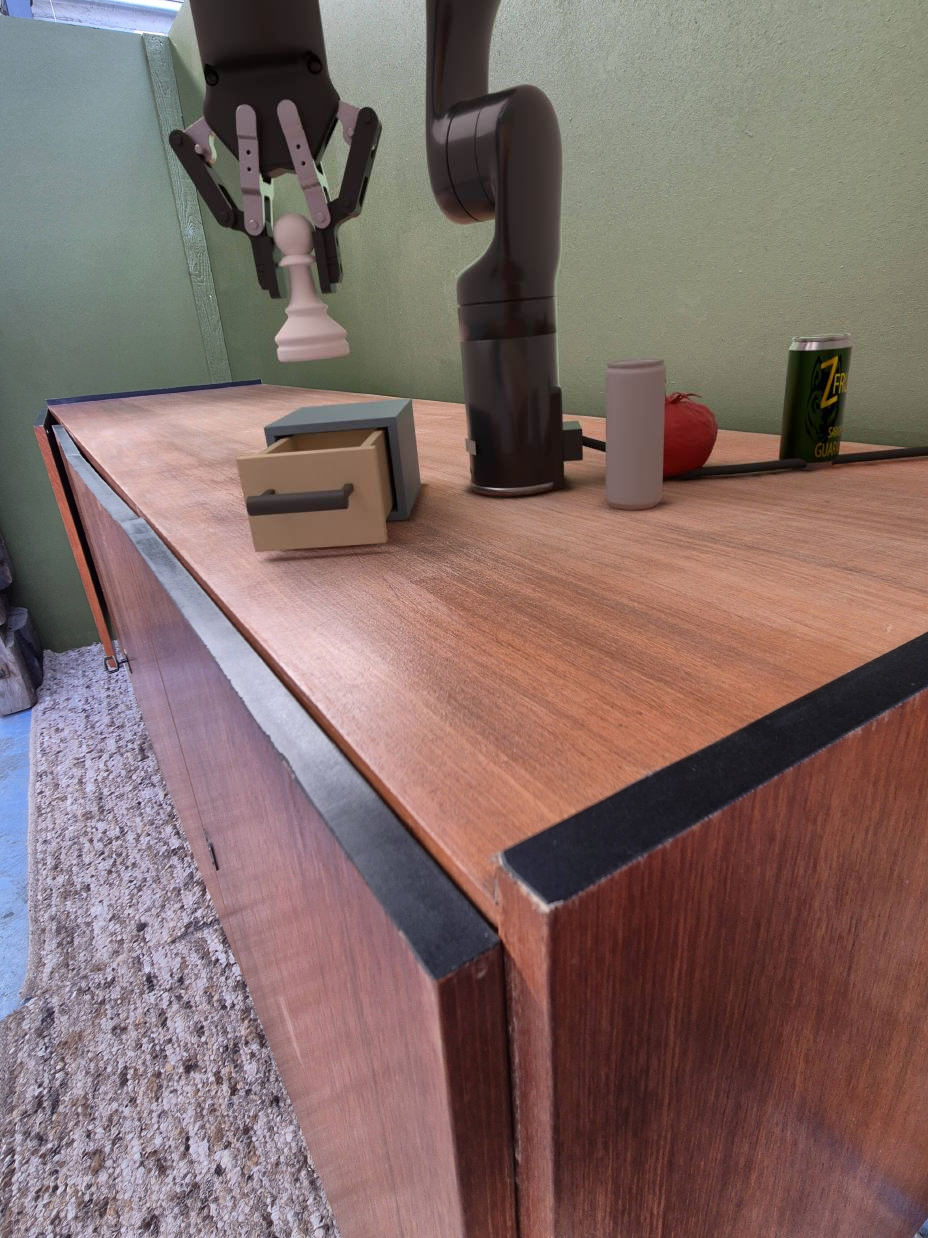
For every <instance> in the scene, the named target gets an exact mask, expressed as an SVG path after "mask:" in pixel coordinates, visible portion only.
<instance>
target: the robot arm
mask: <svg viewBox="0 0 928 1238" xmlns="http://www.w3.org/2000/svg"><path fill="white" fill-rule="evenodd" d="M188 1H189V2H188V3H189V6H190V12H191V17H192V22H193V27H194V33H195V38H196V42H197V47H198V53H199V58H200V64H201V68H202V73H203V78H204V82H205V95H204V100H203V104H202V114H203V116H201V117H200V118H199V119H197V120H196V121H194V123H193V124H191V125H190V126H188V127H187V128H185V129H184V130H182V129H178V128H174V129H173V130H171V131H170V132H169V135H168V144H169V146H170V148H171V149H172V152H173V153H174V155H175V156H176V158H177V159H178V160H179V162H180V165H181V166H182V167H183V169H184V170H185V172H186V174H187V175H188V177H189V178H190V180H191V181H192V183H193V185H194V187H195V188H196V190H197V192H198V193H199V195H200V196H201V198H202V200H203V201H204V203H205V205H206V206H207V208H208V209H209V211H210V212H211V214H212V216H213V218H214V219H215V220H216V222H217V224H218V225H219V226H220V227H222V228H226V229H230V230H232V231H236V232H241V233H243V234H245V235H246V236H247V237H248V239H249V241H250V245H251V250H252V255H253V261H254V265H255V266H254V267H255V271H256V272H255V273H256V276H257V282H258V284H259V286H260V288H261V289H262V291H268V294H269V297H270V299H271V300H284V299H287V298H288V288H287V282H286V276H285V271H284V268H280V267H278V263H279V261H280V260H281V259H282V254H281V253H280V252H279V250H278V249H277V248H276V246H275V243H274V240H273V227H274V218H273V217H274V216H273V214H274V213H273V200H274V196H275V188H274V187H275V186H274V182H275V181H274V179H277V178H279V177H281V176H283V175H285V174H292V175H295V176H297V177H296V178H297V180H298V183H299V186H300V189H301V190H302V192H303V195H304V198H305V201H306V204H307V209H308V211H309V214H310V217H311V221H312V224H313V227H314V229H315V231H311V232H312V238H313V245H314V249H313V251H314V256H315V257H316V264H317V265H316V271H317V275H318V282H319V288H320V293H321V294H322V295H331V294H332V295H333V294H337V291H338V290H337V284H342V283H343V280H344V268H343V267H344V266H343V261H342V253H341V247H340V246H341V245H340V240H339V230H340V228H341V226H343V224H344V223H347V222H348V221H350V220H352V219H355V218H358V217H359V216H360V215H361V213H362V211H363V208H364V204H365V199H366V195H367V192H368V188H369V183H370V179H371V177H372V176H371V175H372V171H373V169H374V168H373V167H374V163H375V160H376V155H377V151H378V147H379V144H380V139H381V135H382V132H383V124H382V122H381V120H380V118H379V116H378V114H377V113H376V110H374V108H373V107H370V106H363V107H362V108H359V107H357V106H354V105H352V104H350V103H347V102H345V101H343V100H341V96H340V95H339V92H338V91H337V89H336V88H335V86H334V85H333V83H332V79H331V75H330V70H329V66H328V64H329V63H328V58H327V51H326V43H325V36H324V35H325V34H324V29H323V28H324V27H323V21H322V20H323V19H322V13H321V5H320V0H188ZM501 2H502V0H424V16H425V17H424V18H425V19H424V20H425V77H424V78H425V79H424V81H425V85H424V87H425V88H424V144H425V145H424V148H425V161H426V162H425V163H426V169H427V177H428V181H429V185H430V189H431V192H432V196H433V198H434V201H435V202H436V205H437V207H438V209H439V211H440V212H441V213H442V214H443V215H444V217H445V218H446V219H448V220H449V221H450V222H451V223H453V224H455V225H458V226H471V225H478V224H484V223H485V224H486V223H489V222H494V224H493V235H492V238H491V239H490V242H489V244H488V245H487V246H486V248H485V249H484V251H483V252H482V253H481V255H479V257H477V258H476V259H475V260H474V261H473V262H471V263H470V264H468V265H466V267H464V268H463V269H461V270H460V271H459V273H458V274H457V277H456V280H455V292H456V293H455V294H456V304H457V317H458V318H457V319H458V331H459V341H460V356H461V368H462V381H463V394H464V395H463V396H464V408H465V420H466V433H467V437H465V438H464V440H465V441H464V442H465V451H466V452H467V453H468V458H469V474H470V481H469V483H470V489H471V491H473V492H474V493H477V494H480V495H485V496H494V497H514V496H515V497H516V496H525V495H526V496H527V495H533V494H540V493H545V492H549V491H551V490H560V489H565V487H566V486H565V462H580V461H583V460H584V447H585V448H588V449H592V450H596V451H600V452H602V453H605V454H606V441H603V440H600V439H596V438H592V437H589V436H586V435H583V427H582V425H581V424H580V421H579V420H566V421H565V420H564V415H563V389H562V386H561V385H560V364H559V363H560V362H559V359H560V358H559V333H558V332H559V327H558V326H559V325H558V324H559V323H558V298H557V296H558V289H557V287H558V285H557V284H558V275H559V272H560V267H561V262H562V253H563V203H564V202H563V200H564V150H563V149H564V148H563V147H564V146H563V139H562V131H561V127H560V123H559V122H560V121H559V119H558V115H557V112H556V109H555V107H554V105H553V103H552V101H551V99H550V97H549V96H548V95H547V94H546V93H545V91H544V90H542V89H541V88H540V87H538V86H536V85H533V84H528V83H523V84H517V85H513V86H508V87H506V88H502V89H500V90H496V91H493V92H490V60H491V59H490V58H491V47H492V40H493V33H494V28H495V24H496V21H497V20H496V19H497V16H498V12H499V10H500V6H501ZM339 122H340V123H341V125H342V138H343V140H344V142H345V143H346V144H347V145H348V147H349V151H348V154H347V159H346V163H345V166H344V167H345V168H344V171H343V176H342V180H341V184H340V188H339V192H338V197H336V198H335V199H332V198H331V194H330V189H329V183H328V180H327V177H326V173H325V170H324V166H323V162H322V159H323V157H324V155H325V153H326V150H327V147H328V146H329V144H330V141H331V139H332V136H333V134H334V131H335V130H336V127H337V126H338V125H337V124H338V123H339ZM216 137H217V138H218V139H219V140H220V142H221V143H222V144H223V146H225V148H226V149H227V150H228V151H229V152H230V153H231V155H232V156H233V157H234V158H235V159H236V160H237V162H238V163H239V185H240V190H241V193H242V200H243V210H241V208H240V207H239V206H238V204H237V202H236V200H235V199H234V198H233V196H232V194H231V192H230V190H229V189H228V187H227V185H226V184H225V182H224V180H223V179H222V177H221V176H220V174H219V172H218V170H217V169H216V167H215V166H214V164H215V162H216V161H217V157H218V154H217V151H216V147H215V144H214V143H215V142H214V141H215V138H216ZM921 457H922V458H923V457H928V445H925V446H914V447H913V446H912V447H902V448H894V449H882V450H873V451H872V450H871V451H862V452H849V453H839V455H837V456H836V458H835V460H834V461H833V462H832V465H834V466H836V465H847V464H858V463H866V462H867V463H869V462H877V461H879V462H880V461H888V460H899V459H910V458H911V459H912V458H921ZM806 466H807V463H806V462H805V461H804V460H802V459H799V458H796V459H786V460H779V459H778V460H777V459H776V460H769V461H759V462H748V463H736V464H724V465H723V464H720V465H719V464H718V465H708V466H703V467H699V468H696V469H693V470H691V471H689V472H687V473H684V474H680V475H677V476H673V477H667V478H663V481H680V480H681V481H683V480H691V479H697V478H704V477H715V476H716V477H717V476H733V475H744V474H754V473H763V472H764V473H765V472H773V471H784V470H796V469H795V468H805V467H806Z"/></svg>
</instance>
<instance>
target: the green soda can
mask: <svg viewBox="0 0 928 1238" xmlns="http://www.w3.org/2000/svg"><path fill="white" fill-rule="evenodd" d="M850 338H852V333H843V332H842V333H820V334H819V333H817V334H807V335H798V336H793V337H792V338H791V340H792V343H791V344H790V346H789V348H788V355H787V365H786V374H785V387H784V397H783V407H782V417H781V418H782V419H781V428H780V429H781V431H780V440H779V451H778V460H786V459H796V458H799V459H802V460H804V461H805V462H806V463H807V466H806V467H805V468H795V469H794V470H796V471H797V470H799V471H818V470H826V469H830V468H833V467H834V466H835V465H832V462H833V461H834V460H835V458H836V456H837V455H839V454H840V450H841V449H840V447H841V441H842V432H843V425H844V424H843V423H844V416H845V407H846V400H847V392H848V385H849V384H848V383H849V375H850V368H851V360H852V359H851V358H852V353H853V352H852V351H853V344H852V340H851V339H850Z"/></svg>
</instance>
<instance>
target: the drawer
mask: <svg viewBox="0 0 928 1238" xmlns="http://www.w3.org/2000/svg"><path fill="white" fill-rule="evenodd" d="M235 463H236V466H237V471H238V476H239V481H240V486H241V490H242V495H243V500H244V505H245V510H246V514H247V520H248V524H249V529H250V533H251V539H252V543H253V549H254V552H255V553H261V552H275V551H290V550H302V549H304V550H305V549H317V548H331V547H347V546H348V547H349V546H359V545H361V546H362V545H374V544H376V545H377V544H386V543H387V541H388V539H389V536H388V529H387V521H386V519H387V517H388V515H389V512H390V510H391V508H392V506H393V504H394V502H395V500H396V498H395V490H394V482H393V474H392V466H391V457H390V449H389V441H388V433H387V427H378V428H366V429H353V430H341V431H328V432H316V433H303V434H291V435H287V436H285V437H283V438H282V439H280V440H279V441H277V442H275V443H274V444H272V445H271V446H269V447H267V446H266V448H264V449H262V450H261V451H259V452H258V453H257V454H251V455H250V454H249V455H241V456H238V457H237V458H236V459H235Z"/></svg>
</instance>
